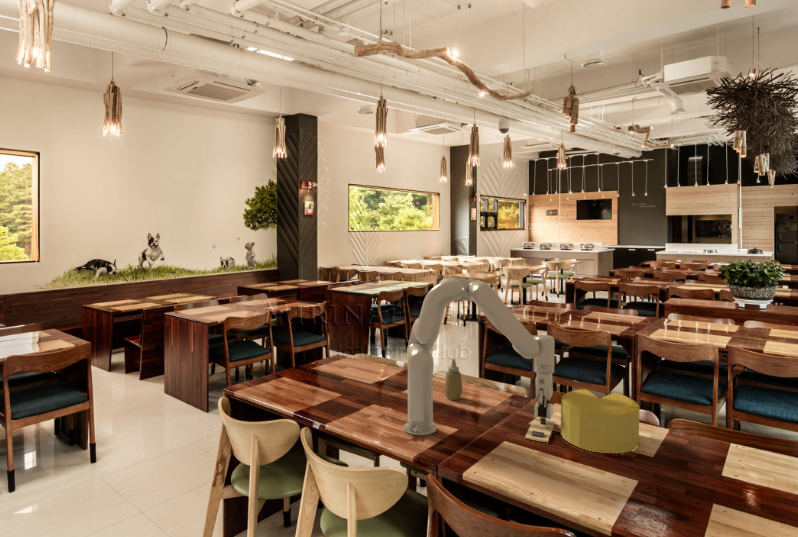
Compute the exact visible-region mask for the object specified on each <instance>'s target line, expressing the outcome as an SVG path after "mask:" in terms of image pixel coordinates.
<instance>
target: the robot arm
mask: <svg viewBox="0 0 798 537" xmlns="http://www.w3.org/2000/svg"><path fill="white" fill-rule="evenodd" d="M459 300H461V301H469V302H474V304H475V305H476V307H478V309H479V310H480V311H481V312H482V313H483V314H484V316H485V317H486V318H487V319H488V321H489V322H490V323H491V324H492V326H493V327H495V328H496V329H497V330H498V332H500V333H501V334H503V336H505V338H507V339H508V341H509V342H510V343H511V344H512V345H511V346H512V348H513V350H514V351H515V352H516V353H517V354H518V355H520V356H521V357H522V358H524V359H527V360H531V359H533V372H534V373H536V378H535V380H536V381H535V383H536V386H535V387H536V388H535V393H536V394H535V396H536V399H538V400H537V402H538V417H537V418H539V417H545V418H546V417H547V407H546V403H550V400H551V398H552V396H553V393H554V392H553V390H554V388H553V374H554V373H555V338H554V337H553V336H552V335H549V334H538V335H535V334H534V335H533V334H531V333H530V331H529V330H528V329H527V328H526V327H525V326H524V324H523V323H522V322H521V321H520V319H518V318H517V316H516V315H515V314H514V313H513V312H512V310H511V309H510V308H509V307H508V305H507V304H505V302H504V301H503V300H502V299H501V297H500V296H499V295H498V294H497V293H496V291H495V290H494V289H493V287H492V286H491V285H490V284H488V283H487V282H484V281H481V280H475V279H466V278H459V277H454V276H453V277H451V276H447V277H444V278H443V279H441V280H440V281H439V283H438V284H436V285H434V286H433V287H432V288H431V289H430V290H429V291H428V292H427V294H426V295H425V297H424V299H423V303H422V306H421V309H420V313H419V316H418V318H416V319H415V320H414V322H413V324H412V327H411V331H410V334H409V340H408V345H407V348H406V361H407V422H406V423H404V425H403V430H404V432H405V433H408V434H409V435H413V436H429V435H432V434H434V433H435V432H437V430H438V425H436V423H434V414H433V413H434V412H433V411H434V400H433V399H434V398H433V397H434V395H433V394H434V382H433V381H434V365H435V364H434V358H433V354H432V348H433V344H434V343H435V342H436V341H437V340H438V338H439V335H440V328H441V324H442V321H443V317H444V313H445V310H446V308H447V307H448V305H449V304H451V303H453V302H457V301H459Z"/></svg>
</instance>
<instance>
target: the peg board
mask: <svg viewBox="0 0 798 537" xmlns="http://www.w3.org/2000/svg"><path fill="white" fill-rule="evenodd" d="M555 423H556V420H551V419H545V418H539V417H534V419H533V421H532V423H531V424H530V426H529V428H528V430H527V432H526V434H525V436H524V439H525V438H526V439H531V440H536V441H542V442H547V443H548V444H549V442H550V440H549V438H550V439H551V437H552V434H553V432H554V429H553V428H555V427H554V425H555V426H556V424H555ZM552 431H553V432H552ZM551 433H552V434H551ZM550 436H551V437H550ZM548 441H549V442H548ZM547 443H546V444H547Z"/></svg>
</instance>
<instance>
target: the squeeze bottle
mask: <svg viewBox="0 0 798 537" xmlns="http://www.w3.org/2000/svg"><path fill="white" fill-rule="evenodd" d="M447 368H448V371H446V373H445V383H444V384H445V385H444V394H445V397H446V399H447V400H450V401H458V400H460V399H461V396H462V393H463V381H462V373H461V372H460V368H459V366H457V363H456V359H455V358H453V359H452V360H451V364H450V366H448V367H447Z"/></svg>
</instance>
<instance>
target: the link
mask: <svg viewBox="0 0 798 537" xmlns="http://www.w3.org/2000/svg"><path fill="white" fill-rule="evenodd" d="M546 407H547V417H546V418H545V417H538V401H536V403H535V404H534V408H533V409H534V412H533V415H534V416H533V417H534V418H539V419H540V418H545V419H546V420H551V419H552V417H553V415H554V404H553V403H550V402H549V403H546Z"/></svg>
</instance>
